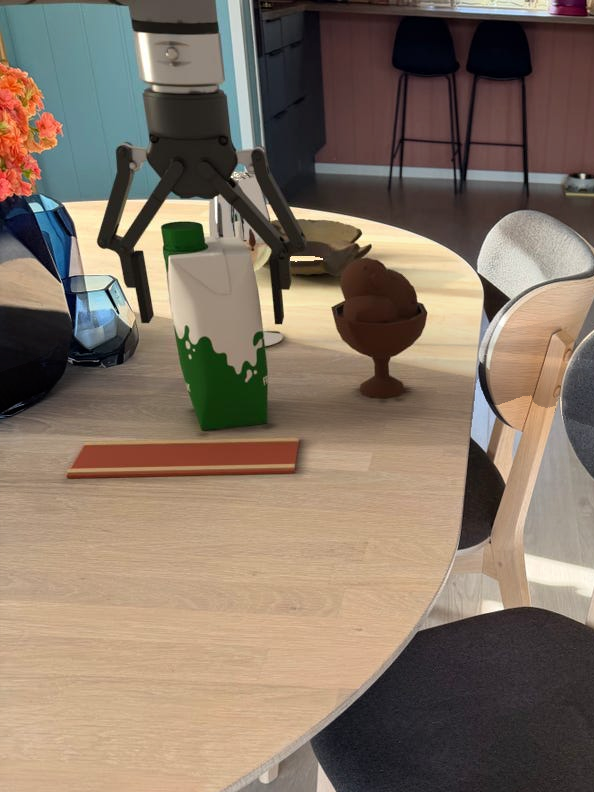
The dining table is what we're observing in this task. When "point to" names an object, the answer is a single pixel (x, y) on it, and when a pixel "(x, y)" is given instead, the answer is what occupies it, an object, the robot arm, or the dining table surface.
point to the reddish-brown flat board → (185, 457)
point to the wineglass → (243, 229)
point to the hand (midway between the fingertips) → (214, 320)
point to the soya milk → (217, 325)
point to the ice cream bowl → (378, 319)
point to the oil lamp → (325, 246)
